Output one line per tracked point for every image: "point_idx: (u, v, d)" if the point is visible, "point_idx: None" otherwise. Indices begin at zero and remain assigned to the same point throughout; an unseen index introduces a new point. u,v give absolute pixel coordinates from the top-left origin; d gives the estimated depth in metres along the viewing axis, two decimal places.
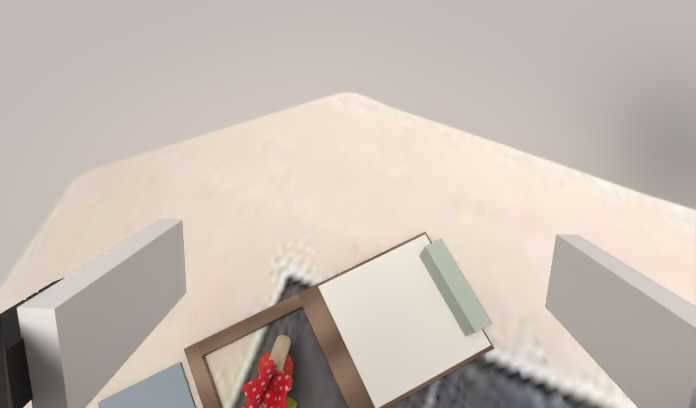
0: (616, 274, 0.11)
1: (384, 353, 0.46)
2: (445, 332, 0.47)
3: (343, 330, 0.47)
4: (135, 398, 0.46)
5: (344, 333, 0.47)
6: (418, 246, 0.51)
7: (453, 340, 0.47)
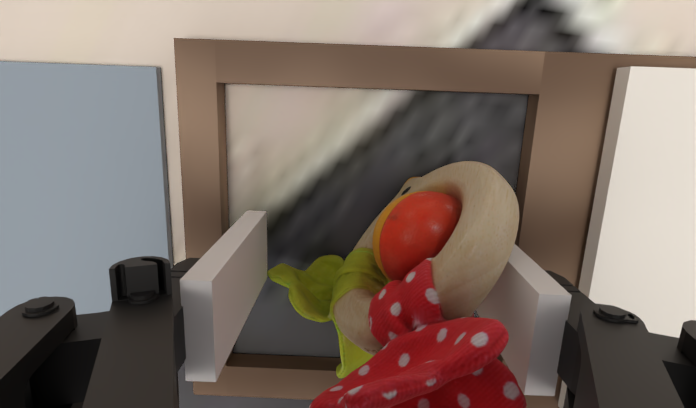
0: None
1: (669, 327, 0.17)
2: None
3: (614, 224, 0.16)
4: (23, 97, 0.17)
5: (611, 233, 0.16)
6: None
7: None
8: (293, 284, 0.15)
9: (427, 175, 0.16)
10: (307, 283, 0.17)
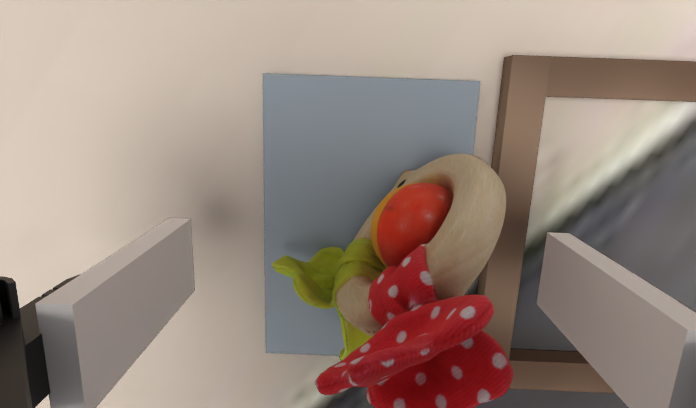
0: (603, 271, 0.12)
1: None
2: None
3: None
4: (349, 109, 0.18)
5: None
6: None
7: None
8: (297, 274, 0.16)
9: (421, 168, 0.17)
10: (310, 274, 0.18)
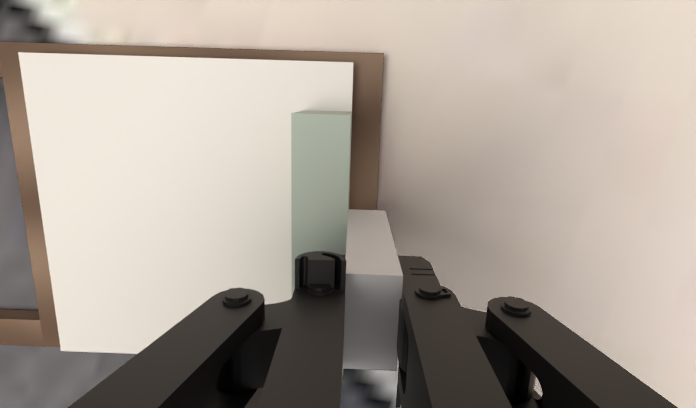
0: (369, 237, 0.14)
1: (119, 270, 0.20)
2: (267, 296, 0.20)
3: (46, 184, 0.19)
4: None
5: (46, 191, 0.19)
6: (317, 85, 0.18)
7: None
8: None
9: None
10: None
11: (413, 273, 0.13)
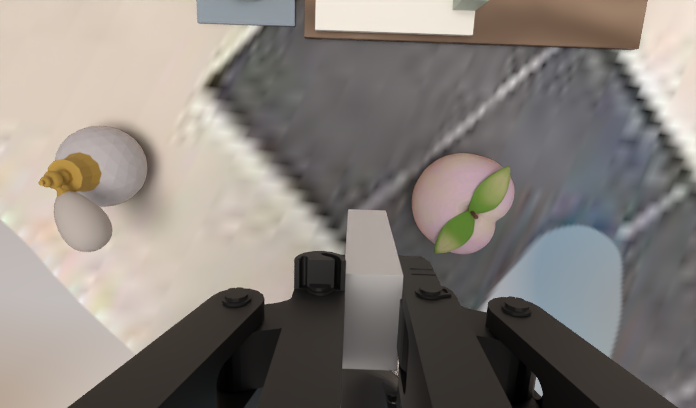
0: (370, 237, 0.14)
1: None
2: None
3: None
4: None
5: None
6: None
7: (436, 6, 0.38)
8: None
9: None
10: None
11: (413, 273, 0.13)
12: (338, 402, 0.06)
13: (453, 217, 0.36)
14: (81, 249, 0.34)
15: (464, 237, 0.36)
